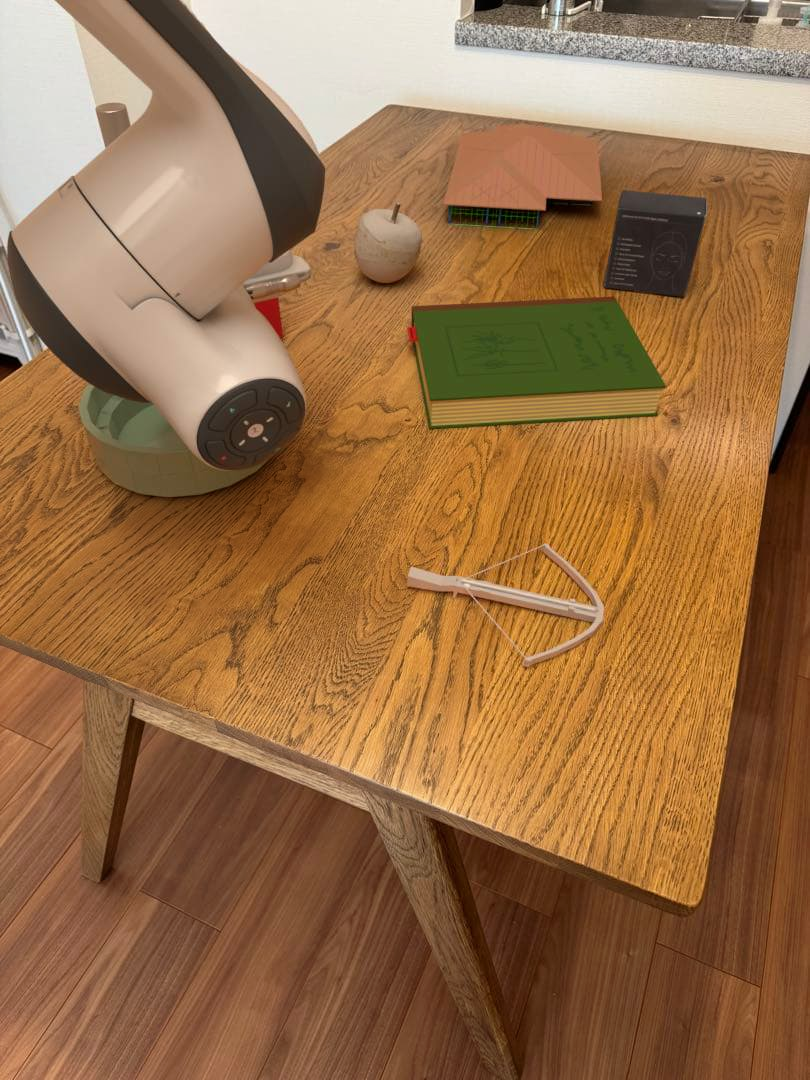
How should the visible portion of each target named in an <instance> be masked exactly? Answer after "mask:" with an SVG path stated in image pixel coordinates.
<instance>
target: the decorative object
mask: <svg viewBox="0 0 810 1080" xmlns="http://www.w3.org/2000/svg"><path fill="white" fill-rule="evenodd" d="M401 206H402V203H400V202H398V201H396V203H395V206H394V208H393V210H392V209H387V208H374V209H371V210H368V211H367V212H365V213H364V214H362V215H361V217H360V218H359V220H358V223H357V226H356V231H355V235H354V240H353V255H354V258H355V261H356V264H357V266H358V268H359V270H360V271H361V273H363V275H365V277H367V278H369V279H370V280H373V281H374V282H377V283H380V284H391V283H394V282H397V281H400V280H401V279H403V278H404V277H406V276H407V275H408V274H409V273H410V271H411V270H412V269H413V268H414V266H415V265H416V263H417V261H418V259H419V257H420V253H421V249H422V244H423V234H422V230H421V228H420V226H419V224H417V223H416V221H414V220H413V219H412V218H410V217H409V216H407V215H405V214H404V213H403V212H402V213H401V212H399V211H400V208H401Z"/></svg>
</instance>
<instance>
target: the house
mask: <svg viewBox="0 0 810 1080" xmlns="http://www.w3.org/2000/svg"><path fill="white" fill-rule="evenodd" d="M601 180H602V179H601V168H600V155H599V141H598V139H597V138H592V137H585V136H579V135H574V134H567V133H562V132H556V131H553V128H551V127H546V126H539V125H535V124H529V123H516V124H515V123H513V124H503V125H496V126H495V130H486V131H485V130H484V131H471V132H462V133H461V137H460V140H459V143H458V147H457V151H456V155H455V158H454V163H453V166H452V170H451V173H450V176H449V180H448V184H447V187H446V192H445V195H444V198H443V202H442V205H443V206H448V219H447V220H448V221H447V225H453V226H454V225H455V226H470V227H481V224H480V225H479V224H478V220H476V221H475V223H476V224H467V221H465V224H463V223H462V224H461V223H450V222H451V219H452V215H453V214H458V215H460V217H459V222H462V221H461V218H462V214H463V215H464V214H465V215H468V212H467V211H472V208H476V212H478V211H479V212H480V211H481V212H486V213H476V216H482V217H481V220H483V219H484V216H485V225H484V227H487V228H488V227H489V228H503V229H504V228H505V229H515V227H514V226H513V227H512V226H511V225H512V224H510V226H501V219H502V217H507V214H502V213H508V209H510V210H511V213H512V214H511V215H508V217H510V219H512V217H513V213H516V214H517V215H514V217H516V218H520V216H518V214H525V212H524V210H526V211H527V219H533V220H532V222H534V219H535V218H536V228H535V230H537V231H538V229H539V228H538V227H539V219H540V212H541V211H543V212H544V211H546V209H547V204H549V202H548V201H547V199H550V200H552V199H553V200H554V201H556V200H560V201H559V202H554V204H555V205H567V201H564V202H565V203H564V202H561V201H562V200H570V201H575V203H572V205H575V206H588V201H589V202H590V206H593V202H603V193H602V181H601ZM577 201H580V204H579V203H577ZM582 201H586V204H582V203H583V202H582ZM454 206H455V207H454ZM457 207H458V208H457ZM459 207H463V208H459ZM468 207H471V209H470V208H468ZM481 208H486V209H481ZM490 209H493V212H492V214H491V217H494V214H495V217H498V224H497V221H495V223H494V221H492V224H491V225H488V221H489V216H490ZM495 209H496V212H495ZM498 209H499V214H497V213H498ZM503 209H506V210H505V211H504V210H503ZM457 210H459V211H462V210H463V211H465V212H456V211H457ZM514 210H517V211H514ZM519 210H522V211H519ZM530 211H533V212H530ZM494 212H495V213H494ZM529 214H531V215H537V216H529ZM473 215H474V213H473V212H471V213H470V217H471V218H470V220H472V217H473ZM524 218H526V216H524V215H522V216H521V221H523V220H524ZM506 222H507V218H505V222H504V224H506ZM517 223H518V220H516V222H515V225H517ZM528 224H529V221H527V224H526V226H528ZM494 225H495V226H494ZM496 225H497V226H496ZM518 229H519V230H520V229H522V230H534V226H532V228H531V227H530V228H529V227H523V225H521V226H520V227H518Z"/></svg>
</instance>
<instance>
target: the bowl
mask: <svg viewBox="0 0 810 1080" xmlns="http://www.w3.org/2000/svg"><path fill="white" fill-rule="evenodd" d="M77 409H78V413H79V416H80V420H81V423H82V426H83V429H84V432H85V435H86V437H87V440H88V443H89V446H90V449H91V452H92V454H93V456H94V459H95V462H96V466H97V468H98V469H99V470H100V471H101V472H102V473H103V474H104V475H105V476H106V477H107V478H108V479H109V480H110V481H111V482H112V483H113V484H115V485H117V486H119V487H122V488H124V489H127V490H129V491H130V492H133V493H136V494H140V495H146V496H154V497H155V496H156V497H160V498H161V497H163V498H174V497H175V498H176V497H188V496H199V495H203V494H207V493H211V492H213V491H217V490H220V489H224V488H228V487H231V486H232V485H234V484H236V483H238V482H240V481H242V480H244V479H245V478H247V477H249V476H251V475H252V474H255V473H256V472H257V471H258V470H260V469H261V468H262V467H263V466H264V465H265V464H266V463H267V462H269V460H270V459H268V460H267V461H265V462H263V463H261V464H259V465H257V466H255V467H251V468H248V469H243V470H237V471H226V470H219V469H215V468H212V467H210V466H208V465H207V464H205V463H204V462H202V461H201V460H200V459H199V458H198V457H196V456H195V455H194V454H193V453H192V452H191V451H190V449H189V448H188V447H187V446H186V445H185V443H184V442H183V441H182V439H181V438H180V437H179V435H178V434H177V433H176V431H175V430H174V429H173V428H172V426H171V425H170V424H169V422H168V421H167V420H166V418H165V417H164V416H163V415H162V413H161V412H160V411H159V410H158V408H157V407H156V406H155V405H154V404H153V403H152V402H150V403H142V402H136V401H132V400H128V399H125V398H121V397H118V396H115V395H111V394H108V393H106V392H103V391H102V390H100V389H98V388H96V387H95V386H93V385H91V384H90V383H88V384H87V385H86V387H85V388H84V389H83V390H82V393H81V398H80V400H79V405H78V407H77Z"/></svg>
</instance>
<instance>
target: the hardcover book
mask: <svg viewBox="0 0 810 1080" xmlns="http://www.w3.org/2000/svg"><path fill="white" fill-rule="evenodd" d="M406 331H407V335H408V341H409V342H412V345H413V350H414V356H415V361H416V366H417V372H418V377H419V382H420V388H421V393H422V397H423V398H422V399H423V403H424V410H425V414H426V419H427V425H428V430H442V429H443V430H444V429H460V428H461V429H462V428H476V427H477V428H478V427H495V426H511V425H513V426H514V425H529V424H546V423H563V422H582V421H592V420H593V421H598V420H614V419H615V420H616V419H630V418H632V419H633V418H644V417H645V418H647V417H649V418H650V417H658V416H659V412H658V410H657V408H658V404H659V402H660V397H661V394H662V391H663V390H662V389H666V388H667V384H666V383H665V381H664V380H663V377H662V376H661V374H660V373H659V371H658V369H657V368H656V366H655V364H654V362H653V360H652V359H651V357H650V355H649V354H648V352H647V350H646V348H645V346H644V345H643V343H642V341H641V339H640V338H639V336H638V334H637V332H636V331H635V329H634V327H633V326H632V324H631V323H630V321H629V319H628V317H627V316H626V314H625V312H624V311H623V308H622V307H621V305H620V303H619V301H618V300H617V298H616V297H615V296H596V297H575V298H574V297H573V298H554V299H533V300H532V299H531V300H530V299H529V300H514V301H513V300H511V301H510V300H509V301H493V302H492V301H491V302H471V303H453V304H450V303H449V304H430V305H429V304H428V305H414V306H413V305H411V326H407V327H406Z"/></svg>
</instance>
